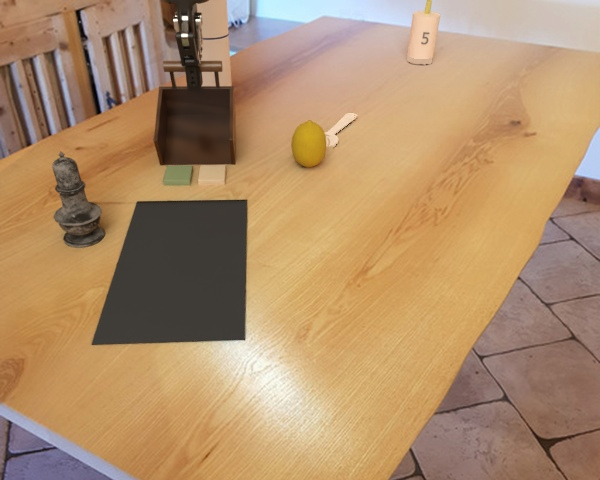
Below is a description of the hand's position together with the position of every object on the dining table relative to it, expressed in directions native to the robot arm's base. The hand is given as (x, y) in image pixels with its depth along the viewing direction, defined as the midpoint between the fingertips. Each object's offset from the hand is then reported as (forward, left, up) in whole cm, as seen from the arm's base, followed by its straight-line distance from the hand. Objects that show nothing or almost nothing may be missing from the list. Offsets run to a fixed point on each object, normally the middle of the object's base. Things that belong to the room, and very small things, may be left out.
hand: (195, 87), depth 88 cm
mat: (+7, -27, -10) cm, 30 cm away
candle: (+35, +59, -10) cm, 69 cm away
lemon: (+19, -3, -10) cm, 22 cm away
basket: (0, -2, -8) cm, 8 cm away
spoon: (+21, +12, -10) cm, 26 cm away
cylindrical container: (-5, +22, -10) cm, 25 cm away
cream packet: (+6, -11, -9) cm, 15 cm away
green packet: (0, -12, -9) cm, 15 cm away
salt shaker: (-6, -29, -10) cm, 32 cm away
